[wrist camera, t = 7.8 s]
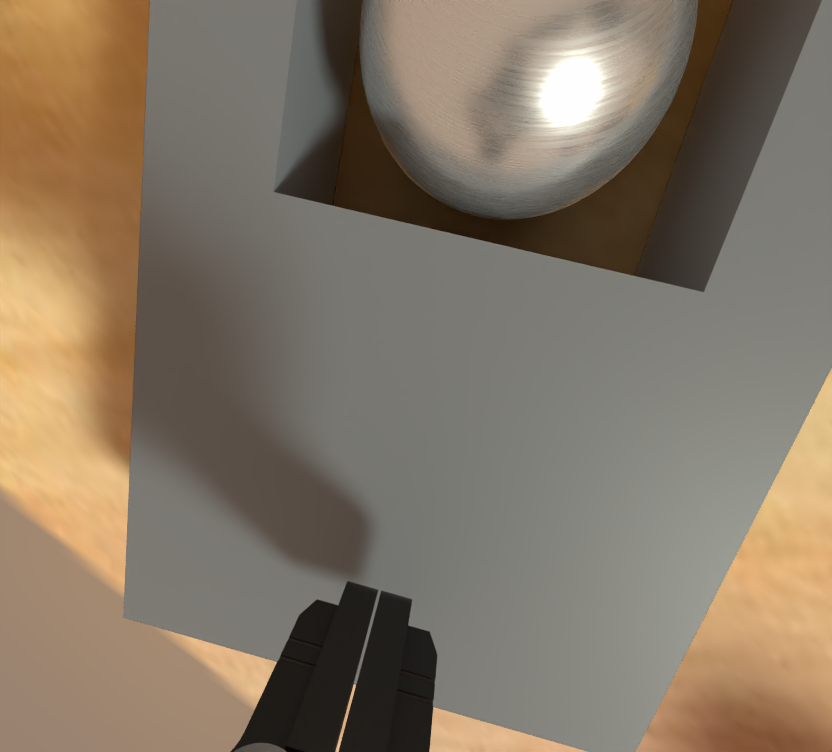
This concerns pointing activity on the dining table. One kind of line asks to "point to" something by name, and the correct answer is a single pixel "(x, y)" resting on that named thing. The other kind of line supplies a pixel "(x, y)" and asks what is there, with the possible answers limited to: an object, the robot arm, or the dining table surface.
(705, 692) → the dining table surface
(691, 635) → the board
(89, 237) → the dining table surface
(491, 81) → the ball
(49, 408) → the dining table surface
